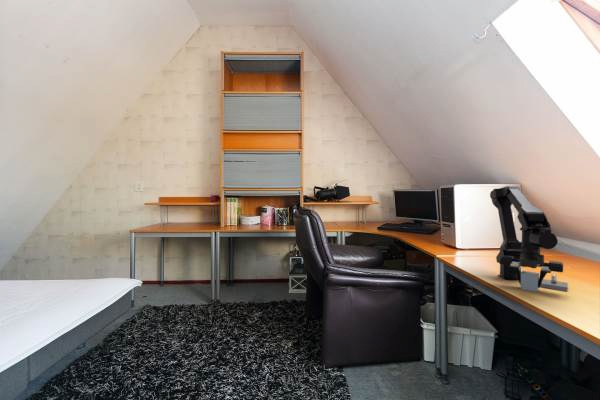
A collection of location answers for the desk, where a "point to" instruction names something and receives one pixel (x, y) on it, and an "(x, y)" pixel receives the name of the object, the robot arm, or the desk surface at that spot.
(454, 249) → the desk surface
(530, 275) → the pale blue cube
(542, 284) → the base plate
